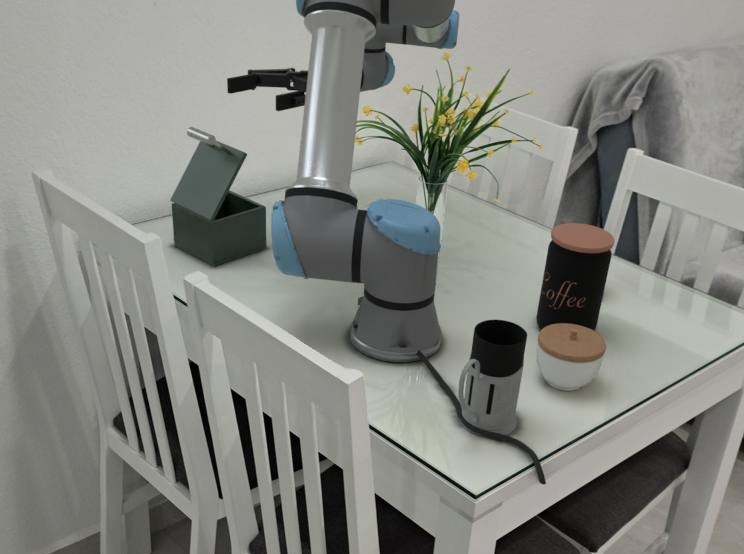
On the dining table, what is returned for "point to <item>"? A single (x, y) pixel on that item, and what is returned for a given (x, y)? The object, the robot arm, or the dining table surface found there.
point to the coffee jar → (574, 275)
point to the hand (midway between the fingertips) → (252, 94)
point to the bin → (221, 230)
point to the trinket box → (569, 355)
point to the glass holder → (493, 376)
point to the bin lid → (208, 175)
